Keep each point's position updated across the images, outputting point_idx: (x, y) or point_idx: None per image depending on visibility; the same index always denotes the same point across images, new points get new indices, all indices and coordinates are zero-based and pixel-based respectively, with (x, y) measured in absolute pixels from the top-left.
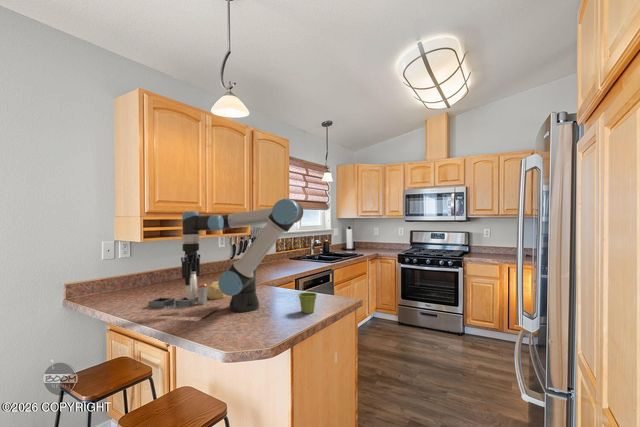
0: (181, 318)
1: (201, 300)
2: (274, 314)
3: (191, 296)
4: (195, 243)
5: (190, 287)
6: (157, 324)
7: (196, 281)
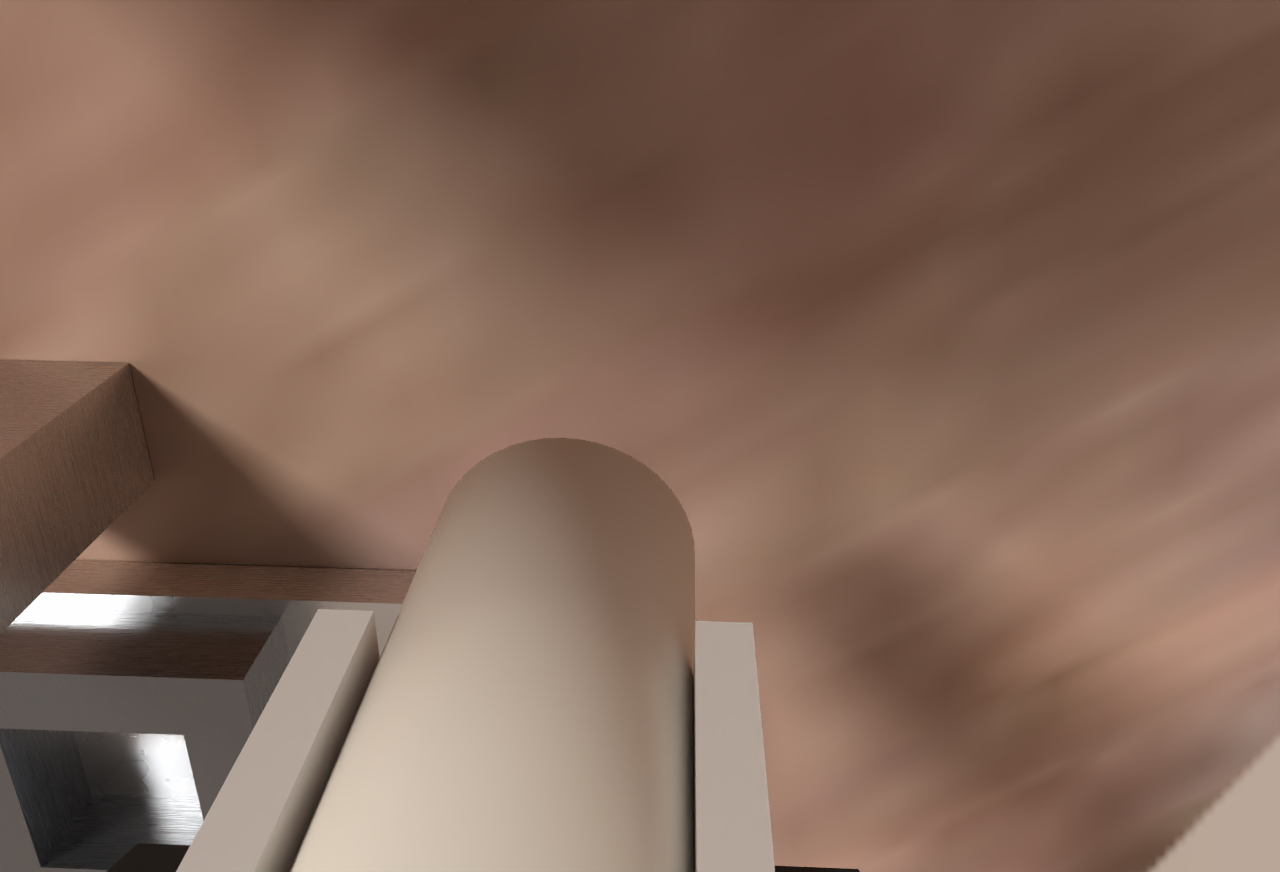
0: (894, 419)
1: (57, 483)
2: None
3: (678, 540)
4: None
5: (760, 747)
6: (1233, 624)
7: (239, 856)
